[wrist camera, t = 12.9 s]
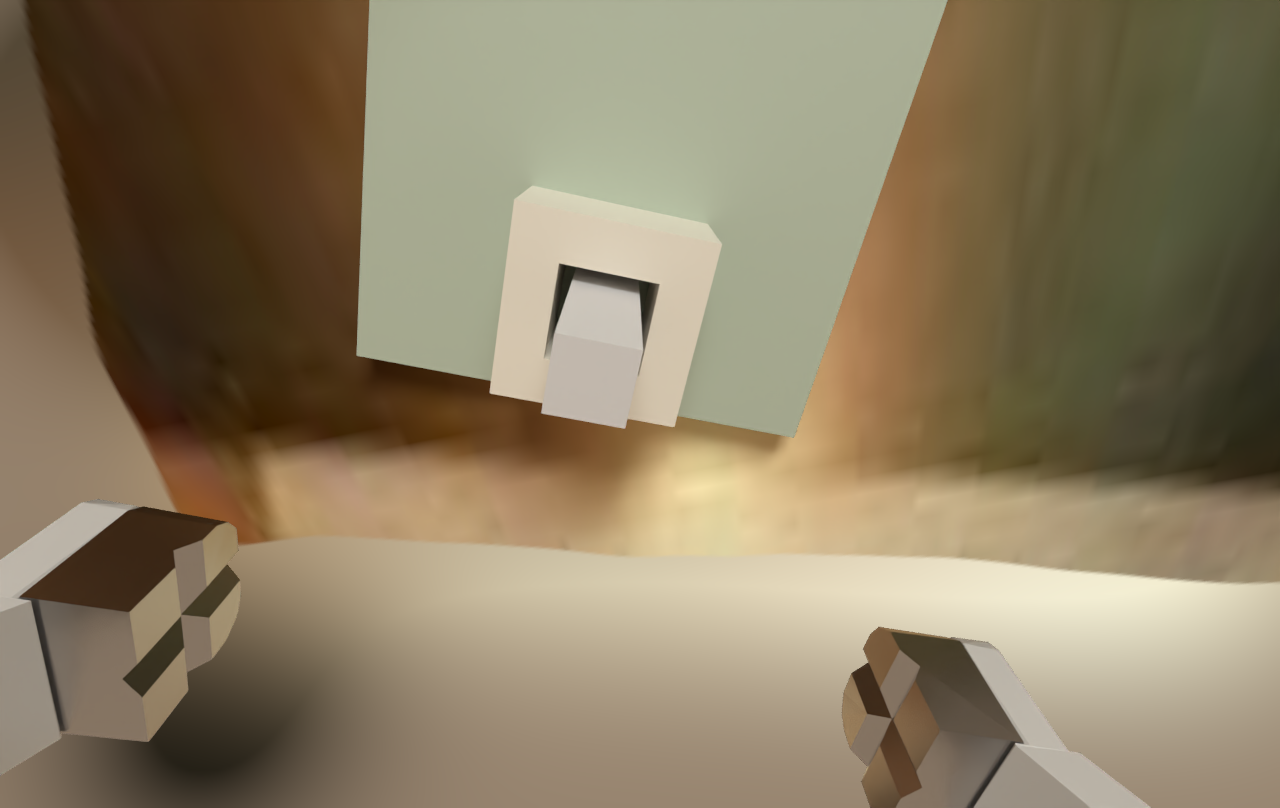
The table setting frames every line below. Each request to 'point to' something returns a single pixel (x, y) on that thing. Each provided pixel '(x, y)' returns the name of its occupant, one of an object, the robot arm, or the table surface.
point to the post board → (631, 178)
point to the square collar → (613, 244)
